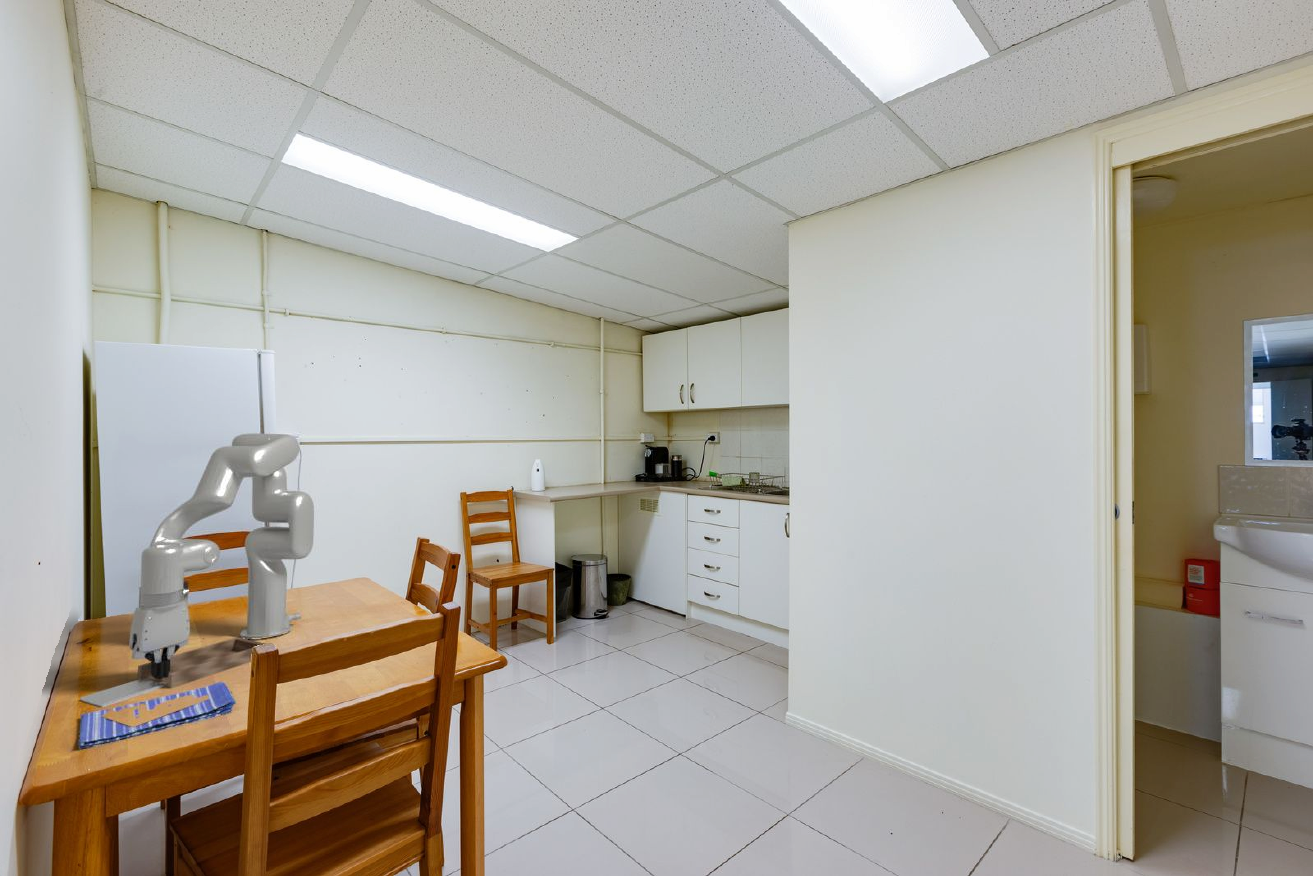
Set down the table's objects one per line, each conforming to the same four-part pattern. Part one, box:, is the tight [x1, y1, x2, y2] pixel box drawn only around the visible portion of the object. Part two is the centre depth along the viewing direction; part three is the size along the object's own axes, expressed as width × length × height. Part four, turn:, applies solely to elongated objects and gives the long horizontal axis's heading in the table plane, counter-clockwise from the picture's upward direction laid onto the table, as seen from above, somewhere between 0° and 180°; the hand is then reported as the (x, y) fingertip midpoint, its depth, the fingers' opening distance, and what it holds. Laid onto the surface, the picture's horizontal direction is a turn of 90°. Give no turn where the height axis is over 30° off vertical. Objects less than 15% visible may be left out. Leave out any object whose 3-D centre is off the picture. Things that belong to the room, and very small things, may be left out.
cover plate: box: [80, 678, 165, 708], centre depth 125 cm, size 11×8×2 cm
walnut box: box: [137, 637, 267, 689], centre depth 141 cm, size 22×13×4 cm, turn 158°
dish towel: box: [78, 681, 237, 751], centre depth 117 cm, size 17×24×3 cm
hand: (160, 677), depth 132 cm, fingers closed
